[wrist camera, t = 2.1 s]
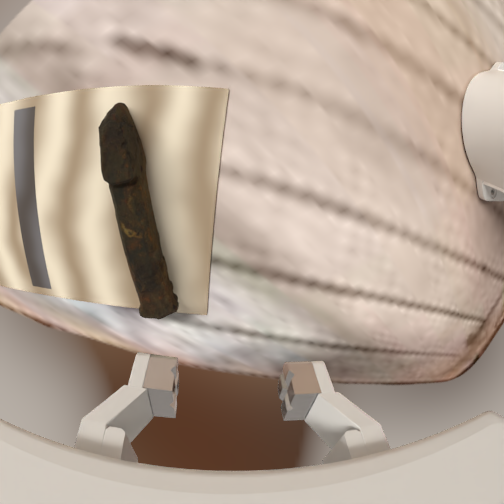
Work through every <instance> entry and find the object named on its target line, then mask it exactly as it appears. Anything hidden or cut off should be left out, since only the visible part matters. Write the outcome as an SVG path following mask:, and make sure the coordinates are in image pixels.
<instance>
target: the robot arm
mask: <svg viewBox="0 0 504 504" xmlns="http://www.w3.org/2000/svg"><path fill="white" fill-rule="evenodd" d="M462 132H463V140H464V145H465V150H466V153H467V156H468V159H469V162H470V164H471V166H472V168H473V170H474V173H475V175H476V181H477V190H478V195H479V197H480V199H482V200H485V201H504V62H496V63H495V64H494V65H493V67H492V68H491V70H489V71H485V72H481V73H479V74H477V75H476V76H475V77H474V78H473V79H472V80H471V82H470V83H469V85H468V87H467V90H466V93H465V97H464V101H463V108H462ZM177 369H178V358H177V357H169V356H161V355H154V354H146V353H139V352H138V353H137V355H136V358H135V361H134V365H133V368H132V372H131V376H130V379H129V384H128V386H126V385H124V386H122V387H121V388H120V389H119V390H118V391H116V392H115V393H114V394H113V395H111V396H110V397H109V398H108V399H107V400H105V401H104V402H103V403H101V404H100V405H99V406H98V407H96V408H95V409H94V410H93V411H91V412H90V413H89V414H88V415H86V416H85V417H84V418H82V421H81V425H80V428H79V431H78V435H77V438H76V442H75V445H74V448H73V447H70V446H67V445H64V444H60V443H58V442H55V441H52V440H49V439H46V438H44V437H41V436H38V435H36V434H33V433H31V432H28V431H26V430H24V429H21V428H19V427H17V426H15V425H12V424H10V423H8V422H6V421H4V420H2V419H0V504H504V417H502V416H501V415H499V414H497V413H495V412H493V411H487V412H484V413H482V414H480V415H478V416H476V417H474V418H472V419H470V420H468V421H466V422H463V423H461V424H459V425H457V426H454V427H452V428H450V429H447V430H445V431H442V432H440V433H437V434H435V435H432V436H429V437H427V438H424V439H421V440H418V441H415V442H412V443H409V444H406V445H403V446H400V447H397V448H393V449H390V446H389V444H388V441H387V439H386V436H385V434H384V431H383V429H382V427H381V424H380V423H378V422H377V421H376V420H374V419H373V418H372V417H370V416H369V415H368V414H366V413H365V412H364V411H363V410H361V409H360V408H359V407H357V406H356V405H355V404H353V403H352V402H351V401H349V400H348V399H347V398H346V397H344V396H343V395H342V394H340V393H339V392H335V390H334V388H333V384H332V382H331V379H330V376H329V374H328V371H327V368H326V366H325V363H324V362H323V361H303V362H285V363H284V365H283V368H282V369H283V374H282V375H280V377H279V381H278V393H279V398H280V399H281V400H282V401H283V403H282V405H281V409H282V415H283V419H284V421H285V420H305V422H306V423H307V424H308V425H309V426H310V427H311V428H312V429H313V430H314V432H315V433H316V434H317V435H318V436H319V437H320V438H321V439H322V440H323V441H324V442H325V443H326V444H327V445H328V446H329V447H330V448H331V449H332V450H331V451H330V452H329V453H328V455H327V456H326V457H325V458H324V459H323V460H322V461H323V464H321V465H314V466H306V467H298V468H288V469H276V470H259V471H209V470H192V469H180V468H170V467H162V466H154V465H148V464H141V463H138V458H137V456H136V454H135V452H134V450H133V448H132V446H131V444H130V442H132V440H133V439H134V438H135V437H136V436H137V435H138V434H139V433H140V432H141V430H142V429H143V428H144V427H145V426H146V425H147V424H148V423H149V421H150V420H151V419H152V418H153V416H160V417H170V418H175V417H176V408H177V400H176V396H177V395H178V387H179V372H178V371H177Z"/></svg>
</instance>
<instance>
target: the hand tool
mask: <svg viewBox="0 0 504 504" xmlns="http://www.w3.org/2000/svg"><path fill="white" fill-rule="evenodd" d="M98 128H99V146H100V156H101V172H102V176H103V179H104V181H106V182H107V183H109V189H110V192H111V196H112V200H113V204H114V208H115V216H116V220H117V224H118V228H119V233H120V237H121V241H122V245H123V249H124V253H125V256H126V259H127V263H128V267H129V270H130V274H131V277H132V280H133V282H134V285H135V288H136V292H137V294H138V298H139V301H140V307H139V313H140V316H142V317H144V318H157V319H161V318H164V317H166V316H167V315H169V314H172V313H174V312H177V310H178V307H179V302H178V297H177V295H176V294H175V293H173V283H172V281H170V280H169V275H168V271H167V264H166V261H165V257H164V256H163V253H162V249H161V244H160V236H159V233H158V230H157V226H156V221H155V217H154V212H153V208H152V202H151V197H150V192H149V187H148V181H147V176H146V157H145V153H144V149H143V146H142V142H141V139H140V137H139V134H138V131H137V129H136V126H135V123H134V121H133V118H132V116H131V114H130V112H129V109H128V107H127V106H126V105H125V104H124V103H117V104H115V105H114V106H113V107H112V108H111V109H110V110H109V111H108V112H107V114H106V116H105V117H104V119H103V120H102V122H101V124H100V126H99V127H98Z"/></svg>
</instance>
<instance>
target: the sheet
mask: <svg viewBox="0 0 504 504" xmlns="http://www.w3.org/2000/svg"><path fill="white" fill-rule="evenodd" d="M228 93H229V89H223V88H211V87H196V86H170V85H142V86H116V87H102V88H91V89H81V90H73V91H65V92H59V93H52V94H46V95H41V96H35V97H30V98H26V99H21V100H16V101H12V102H8V103H4V104H0V285H1V286H4V287H8V288H13V289H18V290H23V291H28V292H33V293H38V294H44V295H49V296H55V297H61V298H67V299H73V300H79V301H86V302H92V303H99V304H107V305H114V306H122V307H130V308H138V309H139V307H140V301H139V298H138V294H137V292H136V288H135V285H134V282H133V280H132V277H131V274H130V270H129V267H128V263H127V259H126V256H125V253H124V249H123V245H122V241H121V237H120V233H119V228H118V224H117V220H116V216H115V208H114V204H113V200H112V196H111V192H110V189H109V183H107V182H106V181H104V179H103V176H102V172H101V156H100V146H99V128H98V127H99V126H100V124H101V122H102V120H103V119H104V117H105V116H106V114H107V112H108V111H109V110H110V109H111V108H112V107H113V106H114V105H115V104H117V103H124V104H125V105H126V106H127V107H128V109H129V112H130V114H131V116H132V118H133V121H134V123H135V126H136V129H137V131H138V134H139V137H140V139H141V142H142V146H143V149H144V153H145V157H146V176H147V181H148V187H149V192H150V197H151V202H152V208H153V212H154V217H155V221H156V226H157V230H158V233H159V236H160V244H161V249H162V253H163V256H164V257H165V261H166V264H167V271H168V275H169V280H170V281H172V283H173V293H175V294H176V295H177V297H178V302H179V307H178V310H177V313H188V314H201V315H207V304H208V288H209V274H210V260H211V248H212V236H213V224H214V213H215V203H216V193H217V183H218V174H219V164H220V156H221V147H222V139H223V131H224V123H225V115H226V107H227V100H228Z"/></svg>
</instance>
